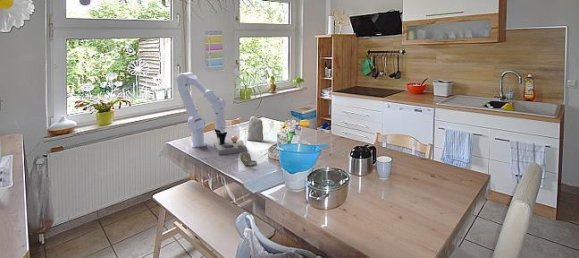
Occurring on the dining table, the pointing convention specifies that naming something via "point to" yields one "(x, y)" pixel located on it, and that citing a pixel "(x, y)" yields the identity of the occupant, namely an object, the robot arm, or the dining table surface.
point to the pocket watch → (246, 158)
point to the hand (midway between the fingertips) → (221, 142)
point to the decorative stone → (255, 129)
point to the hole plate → (228, 147)
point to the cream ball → (239, 142)
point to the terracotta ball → (234, 138)
